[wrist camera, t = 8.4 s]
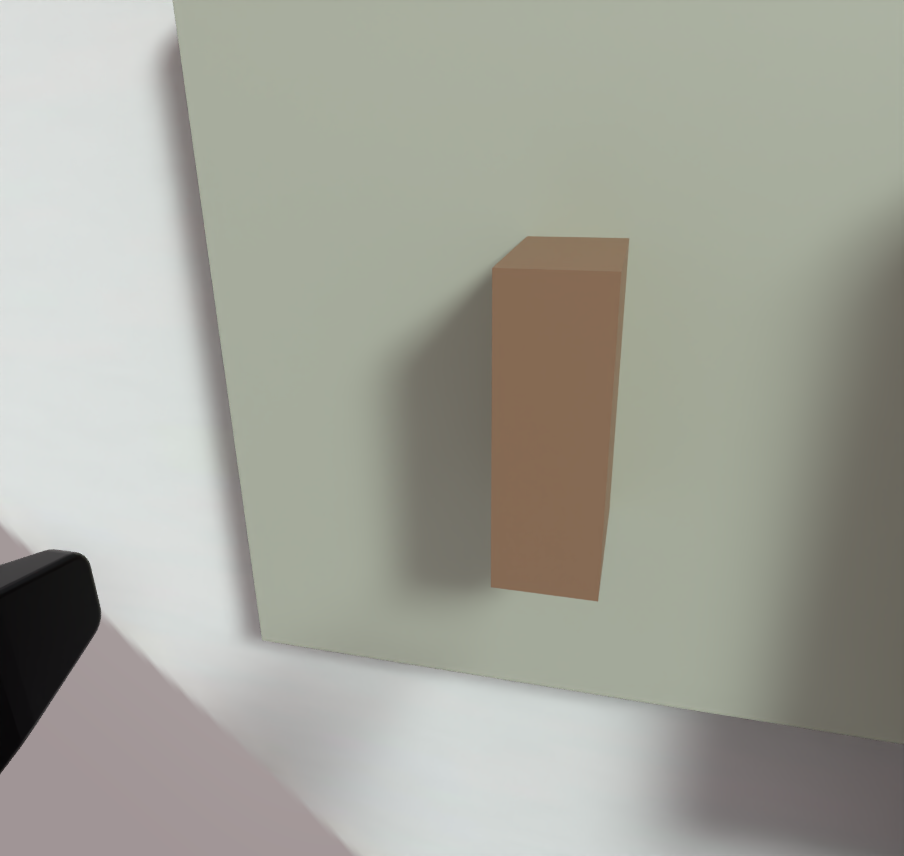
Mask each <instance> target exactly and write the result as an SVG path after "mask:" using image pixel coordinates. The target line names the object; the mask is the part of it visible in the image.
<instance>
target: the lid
mask: <svg viewBox="0 0 904 856" xmlns="http://www.w3.org/2000/svg"><path fill="white" fill-rule="evenodd" d="M173 7H174V14H175V21H176V28H177V35H178V42H179V49H180V57H181V64H182V71H183V78H184V85H185V92H186V100H187V107H188V114H189V121H190V128H191V135H192V142H193V150H194V157H195V164H196V171H197V178H198V185H199V192H200V200H201V207H202V214H203V221H204V228H205V235H206V242H207V250H208V257H209V264H210V271H211V278H212V285H213V292H214V300H215V307H216V314H217V321H218V328H219V335H220V343H221V350H222V357H223V364H224V371H225V378H226V385H227V393H228V400H229V407H230V414H231V421H232V428H233V435H234V443H235V450H236V457H237V464H238V471H239V478H240V485H241V493H242V500H243V507H244V514H245V521H246V528H247V536H248V543H249V550H250V557H251V564H252V571H253V578H254V586H255V593H256V600H257V607H258V614H259V621H260V628H261V636H262V640H263V641H269V642H275V643H281V644H288V645H294V646H300V647H306V648H312V649H318V650H325V651H331V652H337V653H343V654H349V655H355V656H362V657H368V658H374V659H380V660H386V661H392V662H399V663H405V664H411V665H417V666H423V667H429V668H435V669H442V670H448V671H454V672H460V673H466V674H472V675H479V676H485V677H491V678H497V679H503V680H509V681H516V682H522V683H528V684H534V685H540V686H546V687H553V688H559V689H565V690H571V691H577V692H583V693H590V694H596V695H602V696H608V697H614V698H620V699H627V700H633V701H639V702H645V703H651V704H657V705H663V706H670V707H676V708H682V709H688V710H694V711H700V712H707V713H713V714H719V715H725V716H731V717H737V718H744V719H750V720H756V721H762V722H768V723H774V724H781V725H787V726H793V727H799V728H805V729H811V730H818V731H824V732H830V733H836V734H842V735H848V736H854V737H861V738H867V739H873V740H879V741H885V742H891V743H898V744H904V0H173Z"/></svg>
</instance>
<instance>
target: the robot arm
mask: <svg viewBox="0 0 904 856" xmlns="http://www.w3.org/2000/svg"><path fill="white" fill-rule="evenodd" d="M100 619H101V608H100V604H99V599H98V595H97V591H96V587H95V583H94V578H93V574H92V570H91V566H90V563H89V561H88V560H87V558H86V557H85V556H84V555H82V554H80V553H77V552H70V551H63V550H55V549H53V550H46V551H42V552H39V553H36V554H33V555H30V556H27V557H24V558H21V559H18V560H15V561H11V562H8V563H5V564H2V565H0V774H1V772H2V771H3V770H4V768H5V767H6V766H7V765H8V763H9V762H10V761H11V759H12V758H13V757H14V755H15V754H16V752H17V751H18V750H19V749H20V747H21V746H22V744H23V743H24V741H25V740H26V739H27V737H28V736H29V734H30V733H31V731H32V730H33V728H34V727H35V725H36V724H37V722H38V721H39V719H40V718H41V716H42V715H43V713H44V712H45V710H46V708H47V707H48V705H49V704H50V702H51V701H52V699H53V698H54V696H55V695H56V693H57V692H58V690H59V689H60V687H61V686H62V684H63V682H64V681H65V679H66V678H67V676H68V675H69V673H70V672H71V670H72V669H73V667H74V666H75V664H76V663H77V661H78V659H79V658H80V656H81V655H82V653H83V652H84V650H85V649H86V647H87V646H88V644H89V642H90V641H91V639H92V638H93V636H94V635H95V633H96V631H97V629H98V627H99V624H100Z"/></svg>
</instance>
